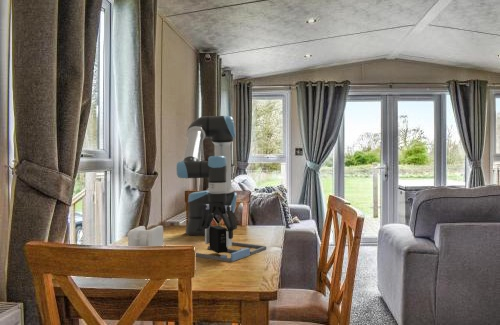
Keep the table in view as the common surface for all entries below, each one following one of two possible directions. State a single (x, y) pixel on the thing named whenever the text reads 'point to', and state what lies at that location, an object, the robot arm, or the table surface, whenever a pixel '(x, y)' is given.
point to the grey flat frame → (235, 252)
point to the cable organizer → (145, 236)
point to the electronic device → (217, 239)
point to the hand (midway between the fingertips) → (218, 245)
